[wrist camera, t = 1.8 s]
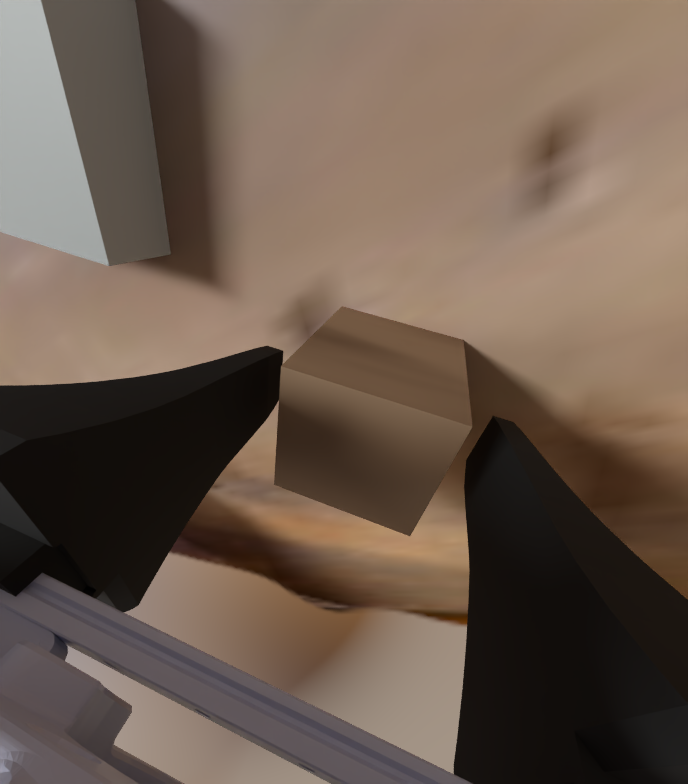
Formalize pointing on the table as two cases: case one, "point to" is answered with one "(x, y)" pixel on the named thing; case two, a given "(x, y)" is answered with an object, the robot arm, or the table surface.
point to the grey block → (78, 131)
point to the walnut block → (372, 417)
